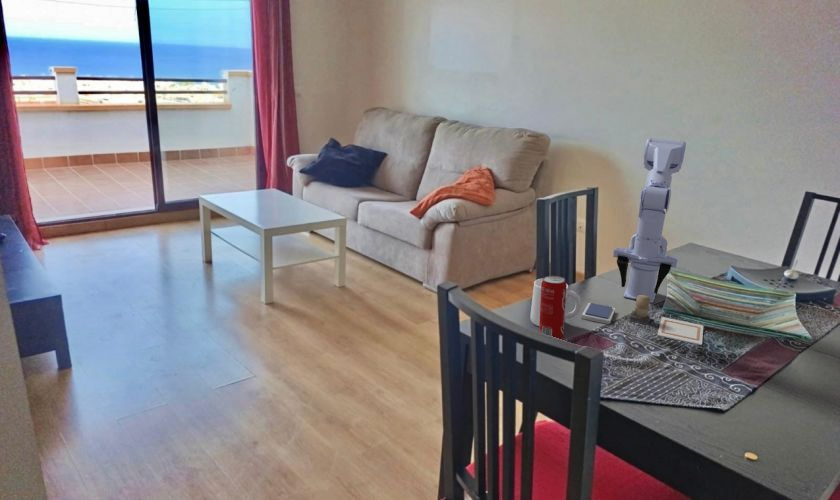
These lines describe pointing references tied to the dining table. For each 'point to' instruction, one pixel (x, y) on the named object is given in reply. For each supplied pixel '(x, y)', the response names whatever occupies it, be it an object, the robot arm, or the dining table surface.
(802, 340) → the dining table surface
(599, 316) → the ink pad
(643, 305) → the stamp
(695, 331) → the sheet
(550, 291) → the beverage can
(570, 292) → the mug
